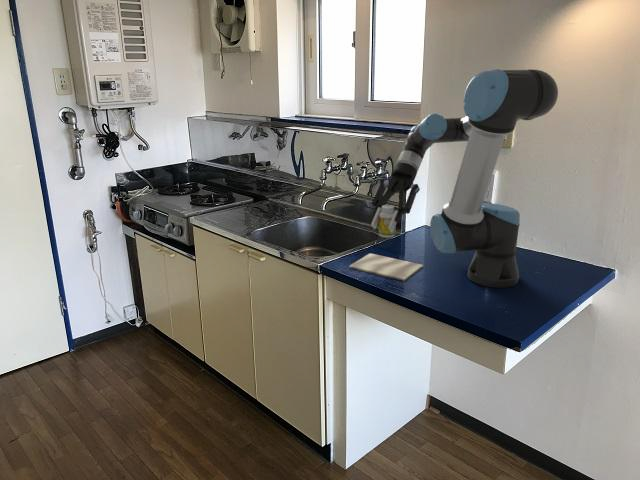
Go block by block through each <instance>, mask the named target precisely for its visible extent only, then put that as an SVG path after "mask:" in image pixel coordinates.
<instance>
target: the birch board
mask: <svg viewBox="0 0 640 480" xmlns="http://www.w3.org/2000/svg"><path fill="white" fill-rule="evenodd" d="M348 267H349V268H350V269H354V270H357V271H358V270H359V271H361V272H365V273H369V274H374V275H379V276H382V277H385V278H386V277H387V278H390V279H395V280H398V281H403V282H405V281H406V280H408V279H410V277H412V276H413V275H414V274H415V273H417V272H418V271H419V270H420V269H422V268H423V267H424V264H420V263H416V262H412V261H406V260H403V259H398V258H393V257H389V256H384V255H381V254H380V255H379V254H376V253H375V254H374V253H368V254H365V255H364V256H363V257H362V258H360V259H358V260H357V261H355V262H353V263H351V264H350V265H349V266H348Z"/></svg>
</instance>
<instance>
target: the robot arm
mask: <svg viewBox="0 0 640 480" xmlns="http://www.w3.org/2000/svg"><path fill="white" fill-rule="evenodd" d="M558 97H559V89H558V85H557V82H556V80H555V79H554V78H553V76H551V75H550V74H549V73H547V72H546V71H544V70H539V69H530V68H529V69H498V68H497V69H492V70H483V71H481V72H479V73H477V74H476V75H474V76H473V77H472V79H470V81H469V83H468V84H467V87H466V89H465V92H464V96H463V103H464V105H463V111H464V114H465V116H464V117H463V116H462V117H454V118H453V117H452V118H451V117H450V118H449V117H446V118H445V117H444V116H443V115H440V114H438V113H430V114H428V115H427V116H426V117H425V118H424V119H422V120H421V122H420V123H419V124H417V125H414V126H412V127H411V129H410V131H409V132H408V134H407V137H406V140H405V142H404V145H403V148H402V149H401V152H400V154H399V156H398V159H397V160H396V164H395V166H394V168H393V171H392V174H391V176H390V177H389V178H388V179H387V180H384V179H380V180H379V181H380V182H379V187H378V189H377V191H376V193H375V196H374V197H373V199H372V202H371V205H372V206H373V208H374V210H373V213H372V217H373V219H372V221H371V224H370V225H371V228H373V229H374V230H377V227H378V226H379V214H380V213H381V212H382V210H381V209H382V206H383V205H387V203H388V202H389V201H390V199H391V198H392V197H393V196H394V195H395V194H399V199H398V207H397V209H394V215H393V217H392V220H391V222H390V224H389V227H388V228H389V230H390V232H393V231H394V228H395V226H396V225H397V224H399V223H400V222H401V220H402V217H403V215H405V214H407V215H408V214H410V212H411V210H412V207H413V204H414V201H415V199H416V196H417V194H418V193H419V192H420V190H421V188H420V186H419V184H418V183H414V181H415V179H416V177H417V174H418V171H419V169H420V167H421V164H422V162H423V159H424V157H425V155H426V153H427V150H428V149H430V147H432V146H433V144H439V143H453V142H454V143H455V142H456V143H457V142H467V144H466V146H465V150H464V153H463V156H462V157H463V158H462V160H461V163H460V164H461V165H460V167H459V170H458V175H457V177H456V180H455V185H454V187H453V192H452V194H451V199H450V200H448V201H446V202H445V203H444V205H443V207H442V211H441V213H436V214H434V215H432V217H431V219H430V223H429V227H430V228H429V229H430V235H431V240H432V241H433V244H434V246H435V247H436V249H437V250H438V251H439V252H440V253H442V254H455V253H461V252H468V251H469V252H471V251H475V253H474V255H473V258H472V260H471V262H470V263H469V266H468V268H467V278H468V279H469V280H470V281H472V282H473V283H475V284H477V285H480V286H484V287H487V288H488V287H489V288H498V289H501V288H510V287H513V286H517V284H518V282H519V278H520V272H519V268H518V264H517V259H516V252H517V246H518V237H519V236H518V235H519V228H520V226H521V225H520V221H521V220H520V215H521V214H520V212H519V211H518V210H517V209H515V208H514V207H512V206H507V205H503V204H499V203H489V202H485V203H484V200H485V198H486V194H487V191H488V188H489V185H490V183H491V181H492V177H493V174H494V171H495V168H496V165H497V161H498V158H499V156H500V152H501V150H502V147H503V143H504V140H505V137H506V136H507V135H510V134H512V133H513V132H514V130H515V128H516V126H517V123H518V122H519V121H521V120H523V121H531V120H534V119H537V118H539V117H543V116H545V115H547V114H548V113H550V111H551V110H552V109H553V108H554V107H555V105H556V104H557V101H558ZM386 189H387V190H386ZM407 191H409V194H408V196H407ZM406 197H407V200H406Z"/></svg>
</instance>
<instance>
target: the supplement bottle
mask: <svg viewBox="0 0 640 480" xmlns="http://www.w3.org/2000/svg"><path fill="white" fill-rule="evenodd" d="M381 210H382V212H381V213H380V214H379V223H378V235H379V236H380V237H382V238H387V239H388V238H394V237H395V236H396V228H397V227H396V226H395V228H394V231H393V232H390V230H389V228H388V227H389V224H390V222H391V220H392V217H393V215H394V212H395V205H393V204H386V205H383V206H382V209H381Z"/></svg>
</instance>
